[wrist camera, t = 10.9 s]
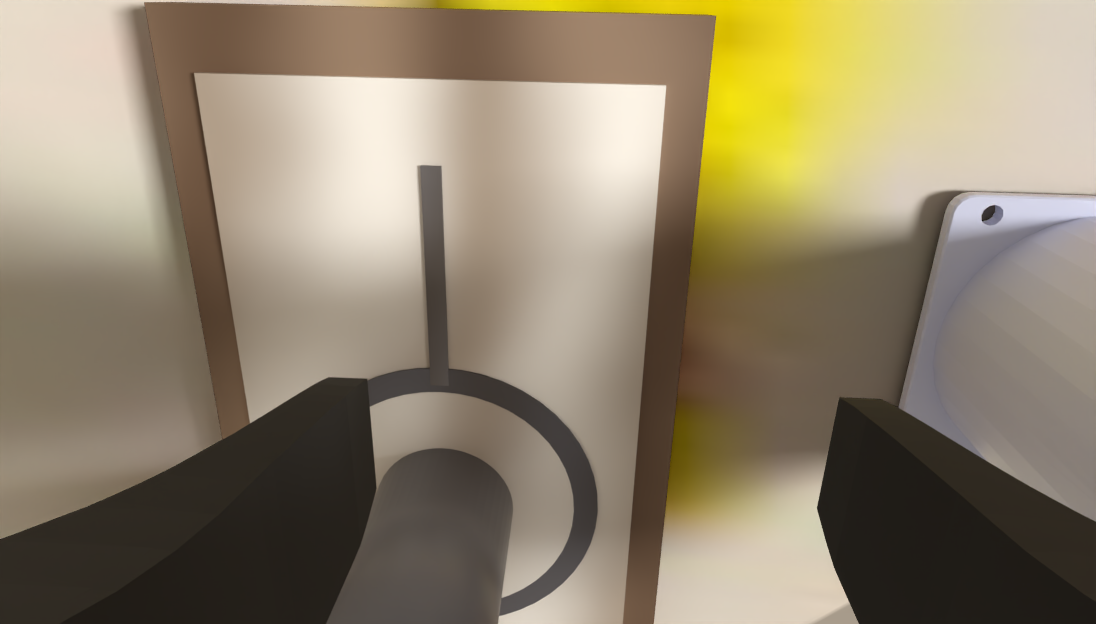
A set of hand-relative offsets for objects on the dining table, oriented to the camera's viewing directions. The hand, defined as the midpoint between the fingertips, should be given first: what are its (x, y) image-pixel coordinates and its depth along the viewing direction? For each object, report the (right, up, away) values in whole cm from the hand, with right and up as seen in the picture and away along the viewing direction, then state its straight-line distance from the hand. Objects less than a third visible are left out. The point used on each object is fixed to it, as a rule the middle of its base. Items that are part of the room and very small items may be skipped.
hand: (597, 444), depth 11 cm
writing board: (-4, 0, +10) cm, 11 cm away
